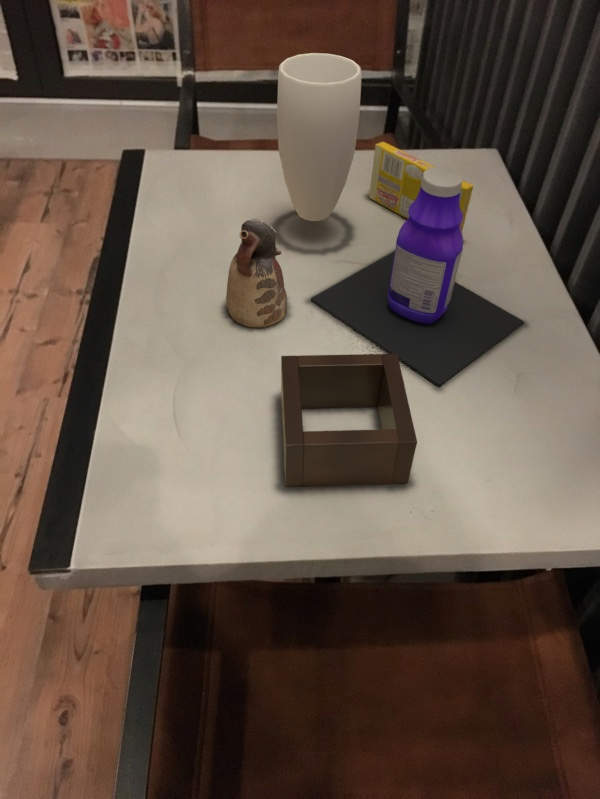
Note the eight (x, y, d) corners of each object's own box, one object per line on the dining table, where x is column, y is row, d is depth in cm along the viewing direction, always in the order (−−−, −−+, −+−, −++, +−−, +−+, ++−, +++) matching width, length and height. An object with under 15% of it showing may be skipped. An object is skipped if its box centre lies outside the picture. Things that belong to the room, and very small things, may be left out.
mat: (523, 323, 81) (524, 321, 81) (438, 387, 74) (439, 384, 73) (397, 251, 91) (397, 249, 91) (310, 300, 83) (310, 298, 83)
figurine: (298, 305, 83) (300, 217, 74) (263, 336, 79) (262, 247, 70) (251, 284, 85) (248, 197, 77) (215, 313, 81) (207, 225, 73)
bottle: (454, 308, 82) (486, 173, 70) (434, 333, 79) (464, 197, 67) (400, 287, 85) (421, 154, 73) (379, 311, 82) (397, 176, 69)
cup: (323, 203, 99) (331, 45, 84) (365, 238, 93) (383, 74, 78) (261, 223, 95) (258, 61, 80) (301, 260, 89) (306, 93, 74)
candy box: (462, 240, 94) (475, 184, 88) (452, 246, 92) (464, 190, 87) (377, 193, 102) (383, 139, 96) (367, 197, 101) (373, 143, 95)
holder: (390, 395, 73) (397, 353, 68) (407, 483, 65) (417, 442, 60) (281, 397, 72) (281, 355, 68) (285, 486, 64) (285, 445, 60)
